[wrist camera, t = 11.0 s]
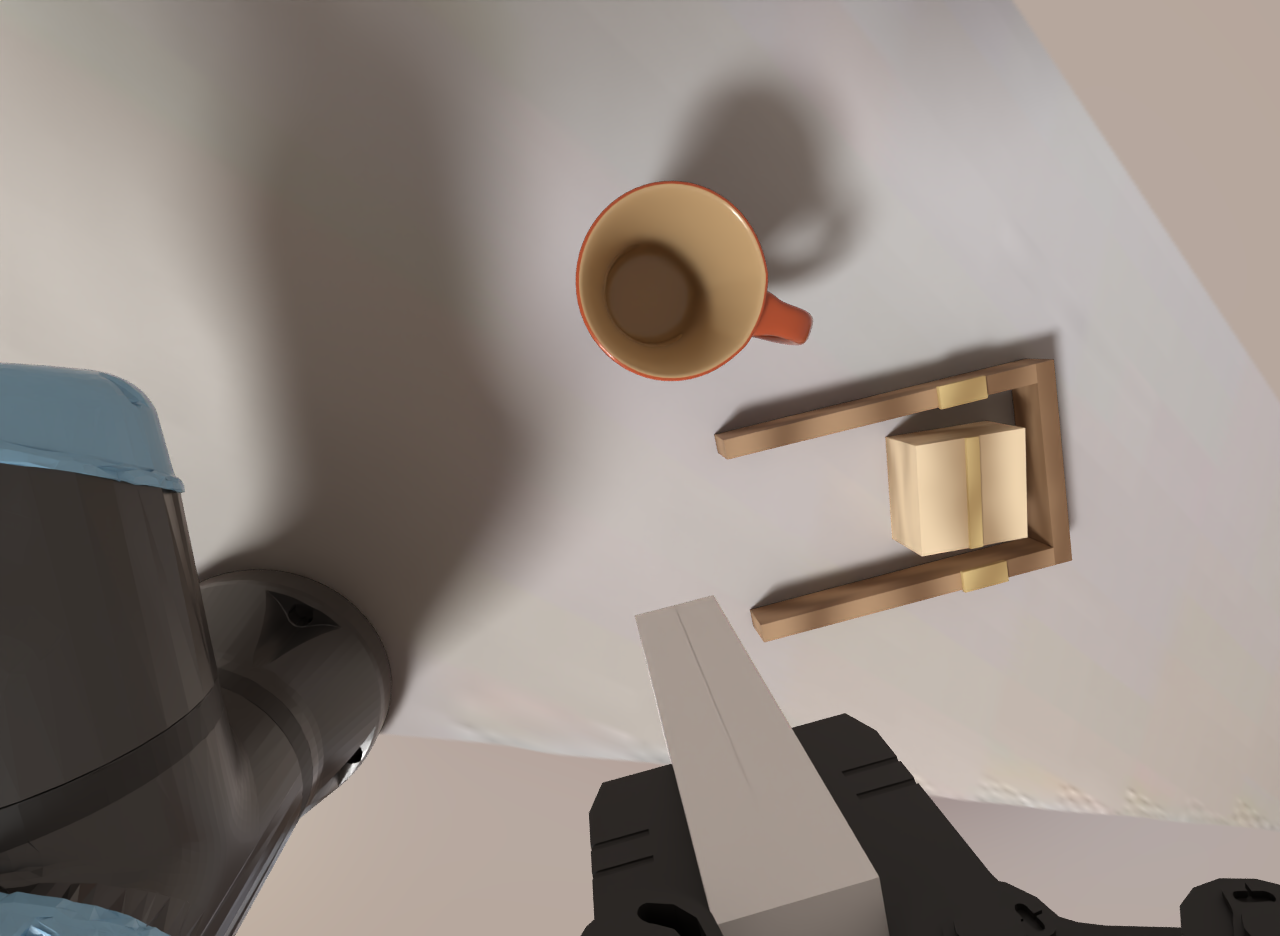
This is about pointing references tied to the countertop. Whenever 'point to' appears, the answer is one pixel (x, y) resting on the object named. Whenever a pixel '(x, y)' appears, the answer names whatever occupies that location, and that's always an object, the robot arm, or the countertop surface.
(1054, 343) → the countertop surface
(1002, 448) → the block
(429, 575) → the countertop surface
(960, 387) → the beam slot
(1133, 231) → the countertop surface
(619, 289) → the mug
